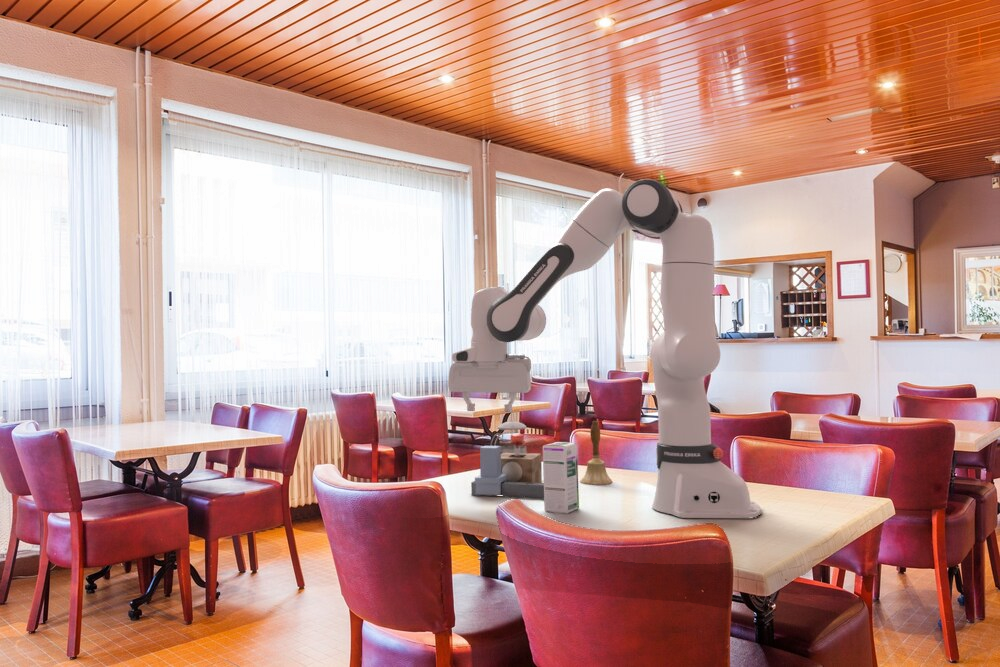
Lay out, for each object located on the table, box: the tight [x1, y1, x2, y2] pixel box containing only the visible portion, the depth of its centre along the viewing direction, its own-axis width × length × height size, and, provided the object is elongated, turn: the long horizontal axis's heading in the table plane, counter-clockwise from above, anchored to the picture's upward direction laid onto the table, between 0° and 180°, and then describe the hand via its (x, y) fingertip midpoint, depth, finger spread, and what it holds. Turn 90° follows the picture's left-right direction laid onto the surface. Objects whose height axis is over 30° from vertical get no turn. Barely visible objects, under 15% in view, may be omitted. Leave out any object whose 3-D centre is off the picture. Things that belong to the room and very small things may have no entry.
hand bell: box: [580, 420, 613, 486], centre depth 196 cm, size 8×8×16 cm
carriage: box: [474, 445, 507, 496], centre depth 181 cm, size 6×7×11 cm
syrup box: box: [542, 441, 580, 515], centre depth 163 cm, size 6×6×14 cm
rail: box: [470, 480, 544, 499], centre depth 180 cm, size 21×3×3 cm, turn 74°
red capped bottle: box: [510, 434, 525, 457], centre depth 190 cm, size 3×3×8 cm
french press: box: [490, 411, 528, 454], centre depth 205 cm, size 10×12×25 cm
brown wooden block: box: [501, 452, 543, 483], centre depth 190 cm, size 10×11×8 cm
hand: (489, 411), depth 182 cm, fingers open, 8 cm apart
